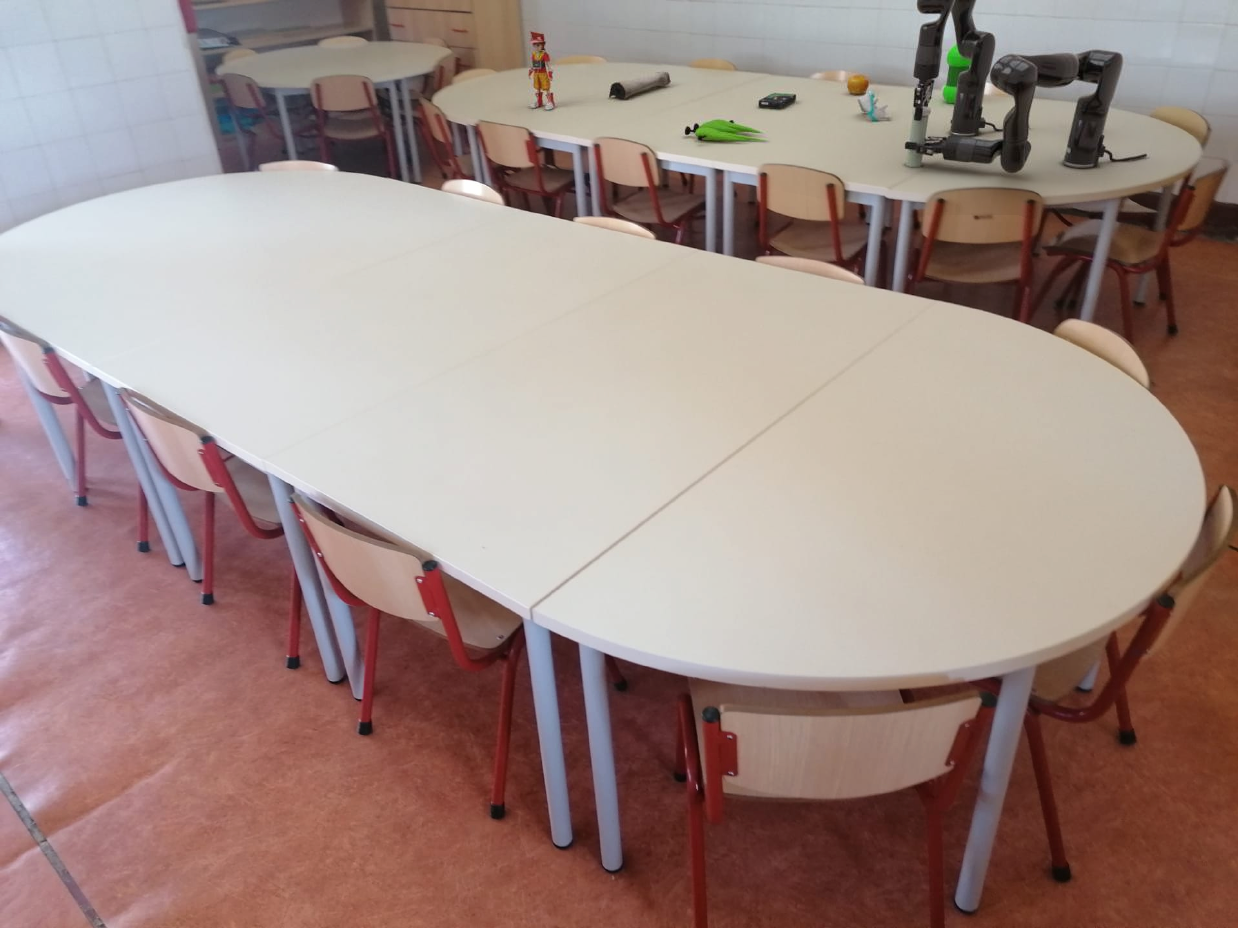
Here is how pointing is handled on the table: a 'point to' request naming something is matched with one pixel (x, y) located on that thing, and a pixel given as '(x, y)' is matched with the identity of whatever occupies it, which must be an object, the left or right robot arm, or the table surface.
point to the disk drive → (777, 100)
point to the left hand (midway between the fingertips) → (920, 118)
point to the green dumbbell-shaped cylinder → (954, 73)
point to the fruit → (857, 84)
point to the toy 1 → (541, 71)
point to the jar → (917, 141)
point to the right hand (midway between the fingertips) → (908, 143)
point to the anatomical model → (872, 107)
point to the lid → (925, 111)
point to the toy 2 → (721, 131)
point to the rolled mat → (638, 84)
